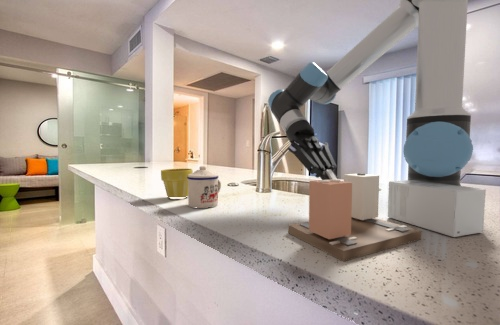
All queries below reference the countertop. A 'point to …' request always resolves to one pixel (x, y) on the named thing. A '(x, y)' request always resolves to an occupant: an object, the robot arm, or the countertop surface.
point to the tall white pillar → (364, 195)
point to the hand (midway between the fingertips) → (339, 193)
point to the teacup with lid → (203, 188)
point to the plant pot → (176, 181)
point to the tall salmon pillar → (330, 208)
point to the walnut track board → (358, 238)
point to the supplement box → (437, 206)
